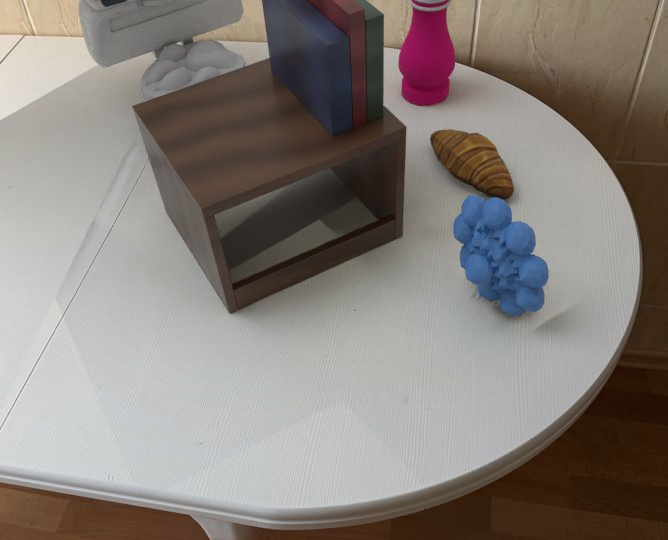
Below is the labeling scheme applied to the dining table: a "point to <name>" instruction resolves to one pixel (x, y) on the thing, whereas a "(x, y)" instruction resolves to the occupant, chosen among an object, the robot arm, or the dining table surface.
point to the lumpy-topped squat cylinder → (187, 67)
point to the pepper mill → (427, 54)
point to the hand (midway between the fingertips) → (178, 72)
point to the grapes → (500, 255)
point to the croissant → (473, 161)
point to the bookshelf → (283, 139)
